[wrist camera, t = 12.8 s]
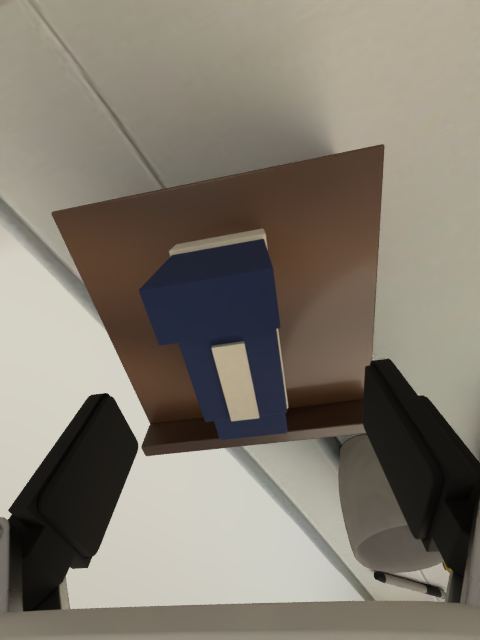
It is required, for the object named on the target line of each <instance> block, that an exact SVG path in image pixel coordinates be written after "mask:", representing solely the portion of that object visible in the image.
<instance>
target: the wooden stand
mask: <svg viewBox="0 0 480 640" xmlns="http://www.w3.org/2000/svg"><path fill="white" fill-rule="evenodd" d="M383 162H384V145H383V144H382V145H377V146H372V147H367V148H362V149H357V150H352V151H347V152H342V153H338V154H333V155H328V156H323V157H318V158H313V159H308V160H303V161H298V162H294V163H289V164H284V165H279V166H274V167H269V168H264V169H259V170H254V171H249V172H245V173H240V174H235V175H230V176H225V177H220V178H215V179H210V180H205V181H201V182H196V183H191V184H186V185H181V186H176V187H171V188H166V189H161V190H156V191H152V192H147V193H142V194H137V195H132V196H127V197H122V198H117V199H112V200H107V201H103V202H98V203H93V204H88V205H83V206H78V207H73V208H68V209H63V210H59V211H54V212H52V216H53V218H54V220H55V222H56V224H57V227H58V229H59V231H60V233H61V235H62V237H63V239H64V241H65V244H66V246H67V248H68V250H69V252H70V254H71V256H72V258H73V261H74V263H75V265H76V267H77V269H78V271H79V273H80V275H81V277H82V280H83V282H84V284H85V286H86V288H87V290H88V292H89V294H90V297H91V299H92V301H93V303H94V305H95V307H96V309H97V311H98V314H99V316H100V318H101V320H102V322H103V324H104V326H105V328H106V331H107V333H108V335H109V337H110V339H111V341H112V343H113V345H114V348H115V350H116V352H117V354H118V356H119V358H120V360H121V362H122V364H123V367H124V369H125V371H126V373H127V375H128V377H129V379H130V382H131V384H132V386H133V388H134V390H135V392H136V394H137V396H138V398H139V400H140V403H141V405H142V407H143V409H144V411H145V413H146V415H147V417H148V420H149V422H150V426H149V429H148V431H147V434H146V436H145V439H144V441H143V444H142V450H143V452H144V454H145V455H146V456H151V455H161V454H171V453H180V452H190V451H200V450H209V449H219V448H228V447H238V446H247V445H257V444H267V443H276V442H286V441H295V440H305V439H314V438H324V437H334V436H343V435H353V434H362V433H366V432H365V429H364V426H363V421H362V415H363V396H364V378H365V367H366V366H369V365H370V362H371V361H372V350H373V333H374V316H375V299H376V282H377V264H378V247H379V230H380V213H381V196H382V179H383ZM257 229H264V231H265V234H266V240H267V248H268V253H269V256H270V260H271V263H272V266H273V270H274V278H275V286H276V294H277V302H278V310H279V318H280V326H281V327H280V328H278V332H279V339H280V347H281V354H282V362H283V370H284V377H285V385H286V392H287V400H288V409H287V412H286V413H285V415H286V422H287V430H288V432H287V433H285V434H275V435H266V436H257V437H248V438H238V439H229V440H220V439H219V436H218V433H217V430H216V426H215V423H214V421H211V422H205V420H204V417H203V414H202V411H201V408H200V405H199V402H198V399H197V397H196V394H195V391H194V388H193V385H192V382H191V379H190V376H189V373H188V370H187V367H186V364H185V361H184V358H183V355H182V352H181V349H180V346H179V343H175V344H168V345H162V346H160V345H159V343H158V341H157V338H156V335H155V333H154V330H153V328H152V325H151V322H150V320H149V317H148V314H147V312H146V309H145V306H144V304H143V301H142V298H141V296H140V293H139V289H140V288H141V287H142V286H143V285H144V284H145V283H146V282H147V281H148V280H149V279H150V278H151V277H152V276H153V274H154V273H155V272H156V271H157V270H158V269H159V268H160V267H161V266H162V265H163V264H164V263H165V262H166V261H167V260H168V259H169V258H170V254H169V251H170V250H171V249H172V248H173V247H174V246H175V245H176V244H181V243H186V242H192V241H197V240H202V239H208V238H213V237H219V236H224V235H230V234H235V233H241V232H246V231H252V230H257Z"/></svg>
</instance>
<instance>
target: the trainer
mask: <svg viewBox="0 0 480 640" xmlns="http://www.w3.org/2000/svg"><path fill="white" fill-rule="evenodd" d="M169 254H170V258H169V259H168V260H167V261H166V262H165V263H164V264H163V265H162V266H161V267H160V268H159V269H158V270H157V271H156V272H155V273H154V274H153V276H152V277H151V278H150V279H149V280H148V281H147V282H146V283H145V284H144V285H143V286H142V287H141V288H140V289H139V293H140V296H141V298H142V301H143V304H144V306H145V309H146V312H147V314H148V317H149V320H150V322H151V325H152V328H153V330H154V333H155V335H156V338H157V341H158V343H159V345H160V346H162V345H168V344H175V343H179V346H180V349H181V352H182V355H183V358H184V361H185V364H186V367H187V370H188V373H189V376H190V379H191V382H192V385H193V388H194V391H195V394H196V397H197V399H198V402H199V405H200V408H201V411H202V414H203V417H204V420H205V422H211V421H214V423H215V426H216V430H217V433H218V436H219V439H220V440H229V439H238V438H248V437H257V436H266V435H275V434H285V433H287V432H288V430H287V422H286V415H285V413H286V412H287V409H288V400H287V392H286V385H285V377H284V370H283V362H282V354H281V347H280V339H279V332H278V328H280V327H281V326H280V318H279V310H278V302H277V294H276V286H275V278H274V270H273V266H272V263H271V260H270V256H269V253H268V248H267V240H266V234H265V231H264V229H257V230H252V231H246V232H241V233H235V234H230V235H224V236H219V237H213V238H208V239H202V240H197V241H192V242H186V243H181V244H176V245H175V246H174V247H173V248H172V249H171V250H170V251H169Z"/></svg>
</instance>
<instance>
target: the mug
mask: <svg viewBox="0 0 480 640" xmlns="http://www.w3.org/2000/svg"><path fill="white" fill-rule="evenodd" d="M339 495H340V502H341V508H342V513H343V518H344V522H345V527H346V530H347V534H348V538H349V542H350V545H351V548H352V551H353V554H354V556H355V558H356V559H357V560H358V561H359V562H360V563H361V564H362V565H363V566H365V567H367V568H370V569H372V570H376V571H381V572H393V573H398V572H411V571H417V570H421V569H425V568H429V567H432V566H435V565H437V564H439V563H442V562H444V560H443V558H442V556H441V554H440V552H439V551H438V552H426V549H425V547H424V545H423V543H422V541H421V539H418V540H417V539H415V538H414V537H413V535H412V533H411V531H410V529H409V527H408V525H407V522H406V520H405V518H404V516H403V514H402V511H401V509H400V507H399V505H398V502H397V500H396V498H395V496H394V494H393V491H392V489H391V487H390V485H389V483H388V480H387V478H386V476H385V474H384V471H383V469H382V467H381V465H380V463H379V460H378V458H377V456H376V454H375V452H374V449H373V447H372V445H371V443H370V440H369V438H368V436H367V435H359V436H356V437H353V438H351V439H349V440H347V441H346V442H345V443H344V444H343V445H342V447H341V449H340V465H339Z"/></svg>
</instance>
